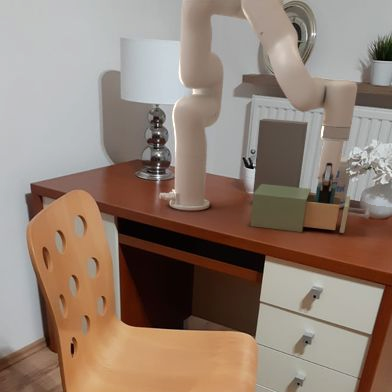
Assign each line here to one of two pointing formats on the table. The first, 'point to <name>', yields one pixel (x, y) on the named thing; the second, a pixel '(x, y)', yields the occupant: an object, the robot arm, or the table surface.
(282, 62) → the robot arm
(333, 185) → the block
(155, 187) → the table surface
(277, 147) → the tall taupe upright panel
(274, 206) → the cabinet
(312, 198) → the drawer
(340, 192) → the supplement tub
